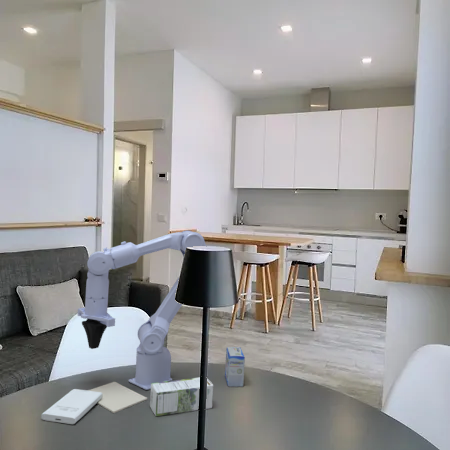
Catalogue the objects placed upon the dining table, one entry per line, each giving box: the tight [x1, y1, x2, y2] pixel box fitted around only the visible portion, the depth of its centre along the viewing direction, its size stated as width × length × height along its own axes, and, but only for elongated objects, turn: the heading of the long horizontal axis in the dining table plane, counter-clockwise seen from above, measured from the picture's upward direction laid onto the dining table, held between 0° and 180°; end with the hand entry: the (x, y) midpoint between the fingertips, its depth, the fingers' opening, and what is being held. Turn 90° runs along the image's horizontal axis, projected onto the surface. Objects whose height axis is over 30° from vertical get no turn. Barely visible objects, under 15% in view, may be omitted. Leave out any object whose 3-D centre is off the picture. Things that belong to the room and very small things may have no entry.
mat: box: [87, 381, 148, 414], centre depth 103 cm, size 10×14×1 cm
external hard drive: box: [40, 388, 103, 425], centre depth 96 cm, size 2×8×12 cm
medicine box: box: [224, 346, 246, 388], centre depth 117 cm, size 8×4×9 cm, turn 6°
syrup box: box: [149, 377, 214, 417], centre depth 100 cm, size 6×6×14 cm
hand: (93, 347), depth 109 cm, fingers closed
